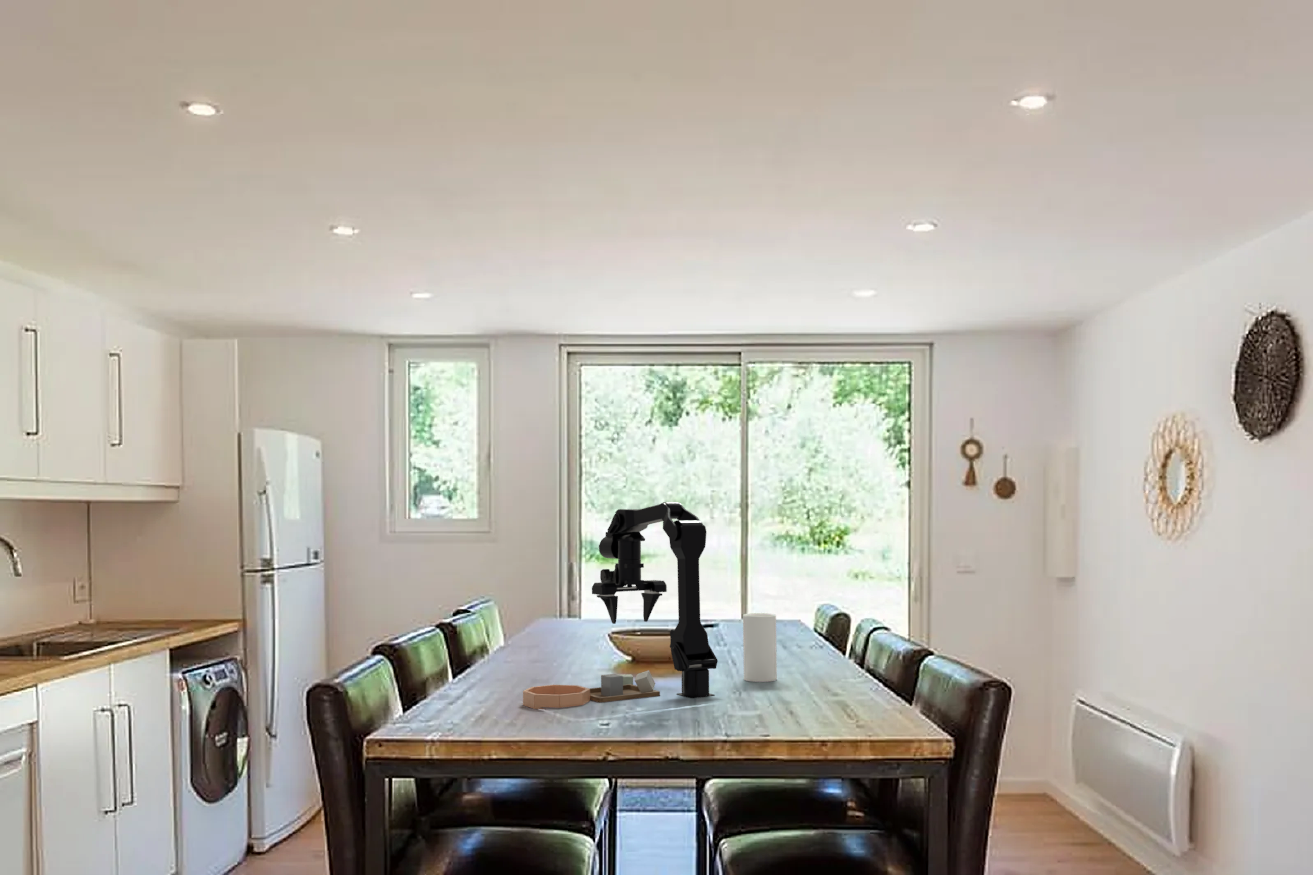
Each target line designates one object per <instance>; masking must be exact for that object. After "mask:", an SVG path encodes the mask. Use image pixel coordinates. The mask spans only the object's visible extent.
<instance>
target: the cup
mask: <svg viewBox="0 0 1313 875" xmlns="http://www.w3.org/2000/svg"><path fill="white" fill-rule="evenodd" d="M742 622H743V623H742V626H743V627H742V631H743V632H742V635H743V637H742V638H743V640H742V641H743V642H742V645H743V646H742V647H743V648H742V649H743V680H744V681H745V682H746V681H747V682H753V683H755V682H756V683H770V682H775V681H777V680H778V679H777V678H778V673H777V672H778V670H777V667H778V665H777V664H778V663H777V660H778V658H777V654H778V653H777V615H776V614H774V613H768V612H767V613H765V612H764V613H762V612H761V613H756V612H755V613H744V614H743V615H742Z"/></svg>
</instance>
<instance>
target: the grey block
mask: <svg viewBox="0 0 1313 875" xmlns="http://www.w3.org/2000/svg"><path fill="white" fill-rule="evenodd" d="M621 675H622V674H616V673H611V674H610V673H609V674H601V675H600V687H601V695H604V696H607V697H608V696H617V695H623V676H621Z"/></svg>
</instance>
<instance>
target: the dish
mask: <svg viewBox="0 0 1313 875" xmlns="http://www.w3.org/2000/svg"><path fill="white" fill-rule="evenodd" d="M590 701H591V700H590V689H589V688H588V687H586V686H582V685H578V684H546V685H545V684H544V685H539V686H530V687H528V688H527V689H525V690H523V691H522V706H525V707H527V708H531V709H534V710H545V708H556V709H557V708H558V709H559V708H567V707H569V708H570V707H575V706H577V707H578V706H584V705H585V704H587V703H589V702H590Z"/></svg>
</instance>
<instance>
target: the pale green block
mask: <svg viewBox="0 0 1313 875" xmlns="http://www.w3.org/2000/svg"><path fill="white" fill-rule="evenodd" d="M620 675H621V676H623V685H627V684H632V685H634V676H633V674H620Z"/></svg>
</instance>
